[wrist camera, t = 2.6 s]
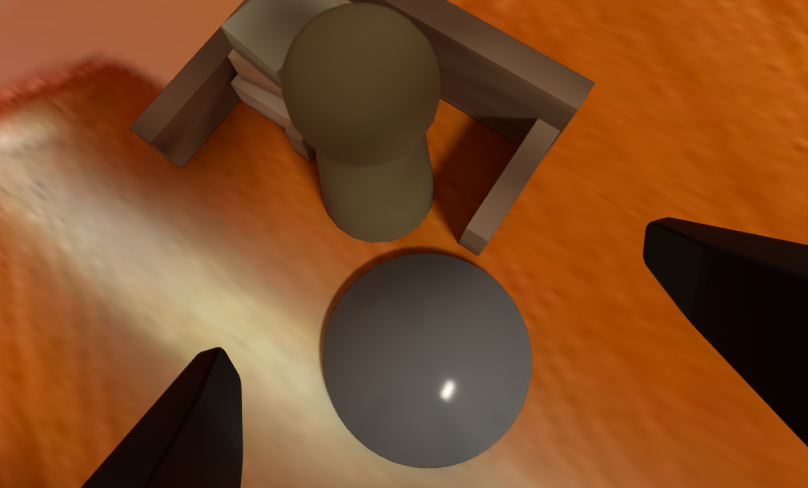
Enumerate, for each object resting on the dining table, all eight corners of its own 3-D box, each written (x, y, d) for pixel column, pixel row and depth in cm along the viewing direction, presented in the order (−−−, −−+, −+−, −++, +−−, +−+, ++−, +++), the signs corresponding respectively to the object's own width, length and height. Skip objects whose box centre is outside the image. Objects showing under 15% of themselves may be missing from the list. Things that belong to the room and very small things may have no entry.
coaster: (458, 513, 20) (460, 516, 19) (283, 383, 21) (280, 384, 21) (566, 326, 22) (568, 325, 21) (399, 218, 23) (399, 216, 23)
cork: (457, 184, 24) (501, 46, 13) (380, 266, 23) (360, 188, 12) (375, 116, 25) (353, -65, 14) (298, 191, 24) (211, 58, 13)
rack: (428, 335, 22) (436, 330, 17) (162, 155, 24) (97, 102, 19) (557, 136, 24) (597, 79, 19) (305, -10, 27) (281, -94, 22)
